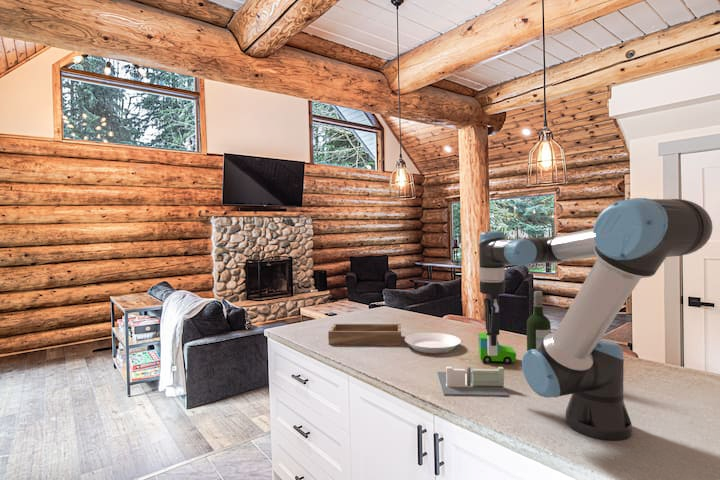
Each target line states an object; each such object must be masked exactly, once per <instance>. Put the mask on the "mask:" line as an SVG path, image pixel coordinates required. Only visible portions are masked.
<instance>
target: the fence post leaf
mask: <svg viewBox="0 0 720 480" xmlns="http://www.w3.org/2000/svg"><path fill="white" fill-rule="evenodd" d="M471 369H472V368H471V367H470V366H467V367H466V370H465V368H453V367H452V366H446V367H445V372H446V384H447V386H465V372H467V386H471V372H472V370H471Z"/></svg>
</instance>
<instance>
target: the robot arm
mask: <svg viewBox="0 0 720 480" xmlns="http://www.w3.org/2000/svg"><path fill="white" fill-rule="evenodd" d="M593 225H594V226H593V228H588V229H582V230H579V231H573V232H568V233H564V234H559V235H554V236H547V237H530V238H529V237H527V238H525V237H524V238H522V237H521V238H506V237H505V232H504V231H483V232H480V234H479V242H478V252H479V253H478V254H479V255H478V256H479V257H478V258H479V266H478V269H479V271H478V272H479V273H478V274H479V277H478V278H479V280H480V281H479V292H480V293H481V294H483V295H485V298H484V299H483V304H484V319H485V320H484V321H485V330H486V333H487V342H488V355H489V356H497V340H498V336H499V335H500V328H501V327H500V325H501V313H502V306H501V300H500V299H499V295H503V294H505V292H506V291H505V290H506V289H505V288H506V283H505V274H506V273H507V270H506V269H505V265H513V266H517V267H520V266H529V265H531V264H533V265H534V264H547V263H548V264H549V263H550V264H551V263H553V264H555V263H562V262H565V261H572V260H573V261H575V260H581V259H582V260H583V259H589V258H597V259H596V261H595V262H594V265H593V266H592V268H591V270H590V271H589V273H588V275H587V276H586V278H585V280H584V282H583V284H582V285H581V287H580V289H579V290H578V292H577V294H576V296H575V297H574V299H573V301H572V303H571V305H570V306H569V308H568V310H567V311H566V313H565V315H564V317H563V318H562V321H561V322H560V324H559V326H558V327H557V329H556V331H554V332H551V333H550V334H548V335H546V336H545V338H544V339H543V341H542V343H541V345H540V346H539V348H538V349H531V350H529V351H527V350H526V351H525V352H524V354H523V356H522V360H521V368H522V372H523V375H524V378H525V381H526V382H527V384H528V386H529V387H530V389H531V390H532V391H533V392H534V393H535V394H537V395H538V396H540V397H542V398H547V399H548V398H549V399H550V398H559V397H562V396H569V395H571V396H570V399H569V401H568V403H567V406H566V409H565V414H564V417H565V423H566V425H568V426H569V427H570V428H571V429H573V430H575V431H576V432H578V433H580V434H582V435H585V436H588V437H592V438H595V439H600V440H607V441H608V440H609V441H619V440H620V441H621V440H625V439H626V440H627V439H628V438H630V437H631V436H632V435H633V425H632V421H631V418H630V415H629V413H628V410H627V407H626V405H625V400H624V369H625V366H624V361H625V358H624V351H623V347H622V346H621V345H620V344H618V343H617V342H614V341H611V340H608V339H605V338H603V336H604V335H605V333H606V332H607V330H608V328H609V327H610V325H611V324H612V323H613V321H614V320H615V318H616V316H617V315H618V313H619V312H620V311H621V309H622V308H623V306H624V305H625V303H626V301H627V300H628V298H629V297H630V295H631V294H632V292H633V291H634V290H635V288H636V287H637V286H638V284H639V282H640V281H641V279H644V278H651V277H653V276H655V274H656V273H657V271H658V270H659V268H660V267H661V266H662V264H663V262H664V261H665V260H666V259H667V258H669V257H681V256H685V255H690V254H693V253H695V252H697V251H699V250H700V249H702V248H703V247H704V246H705V245H706V244H707V243H708V241H709V240H710V239H711V237H712V234H713V221H712V218H711V216H710V214H709V213H708V212H707V211H706V210H705V209H704V208H703V207H702V206H701V205H699V204H697V203H696V202H693V201H690V200H686V199H679V198H667V199H666V198H663V199H662V198H661V199H659V198H657V199H655V198H654V199H653V198H647V197H646V198H645V197H634V198H630V199H629V198H628V199H621V200H618V201H616V202H612V203H611V204H609V205H607V206H606V207H605V208H604V209H603V210H602V211H601V212H600V213H599V214H598V216H597V218H596V220H595V222H594V224H593Z"/></svg>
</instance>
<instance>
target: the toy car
mask: <svg viewBox="0 0 720 480" xmlns="http://www.w3.org/2000/svg"><path fill="white" fill-rule="evenodd" d="M478 356H479V359H480V362H481V361H482V362H484V363H485V364H491V362H503V363H504V364H505V365H510V364H511V363H512V362H514V363H515V362H516V361H517V353H516V352H515V350H514V348H513V346H508V345H502V344H500V343H499V341H498V339H497V356H489V355H488V342H487V332H486V333H485V332H479V333H478Z"/></svg>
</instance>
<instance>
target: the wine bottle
mask: <svg viewBox="0 0 720 480" xmlns="http://www.w3.org/2000/svg"><path fill="white" fill-rule="evenodd" d="M533 297H534V298H533V299H534V300H533V313H532V315H529V317H528V318H527V320H526V352H527V351H529V350H531V349H538V348H539V346H540V345H541V343H542V341H543V339H544V338H545V336H546V335H548V334H550V333H552V332H551V331H552V329H551V321H550V319H549V318H548V317H546V315H545V314H544V311H543V310H544V309H543V292H542V291H540V290H535V291H534V292H533Z"/></svg>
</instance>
